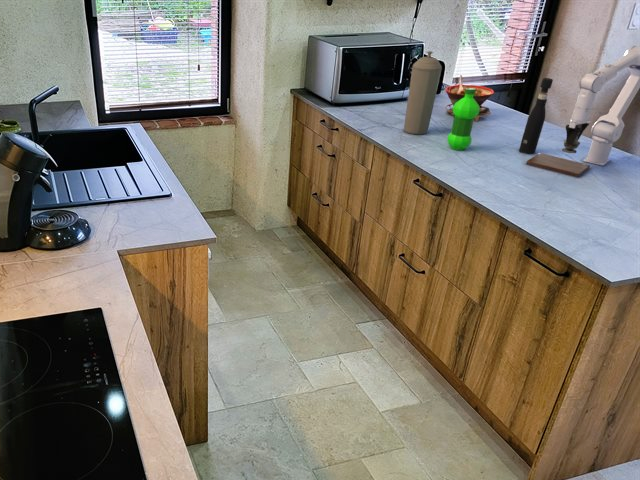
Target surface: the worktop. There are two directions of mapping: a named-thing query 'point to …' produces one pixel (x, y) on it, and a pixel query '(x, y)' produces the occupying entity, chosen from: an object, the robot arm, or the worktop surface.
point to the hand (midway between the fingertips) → (571, 142)
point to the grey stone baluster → (571, 148)
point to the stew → (480, 97)
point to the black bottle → (535, 120)
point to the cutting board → (558, 165)
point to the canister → (422, 94)
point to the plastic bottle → (463, 120)
